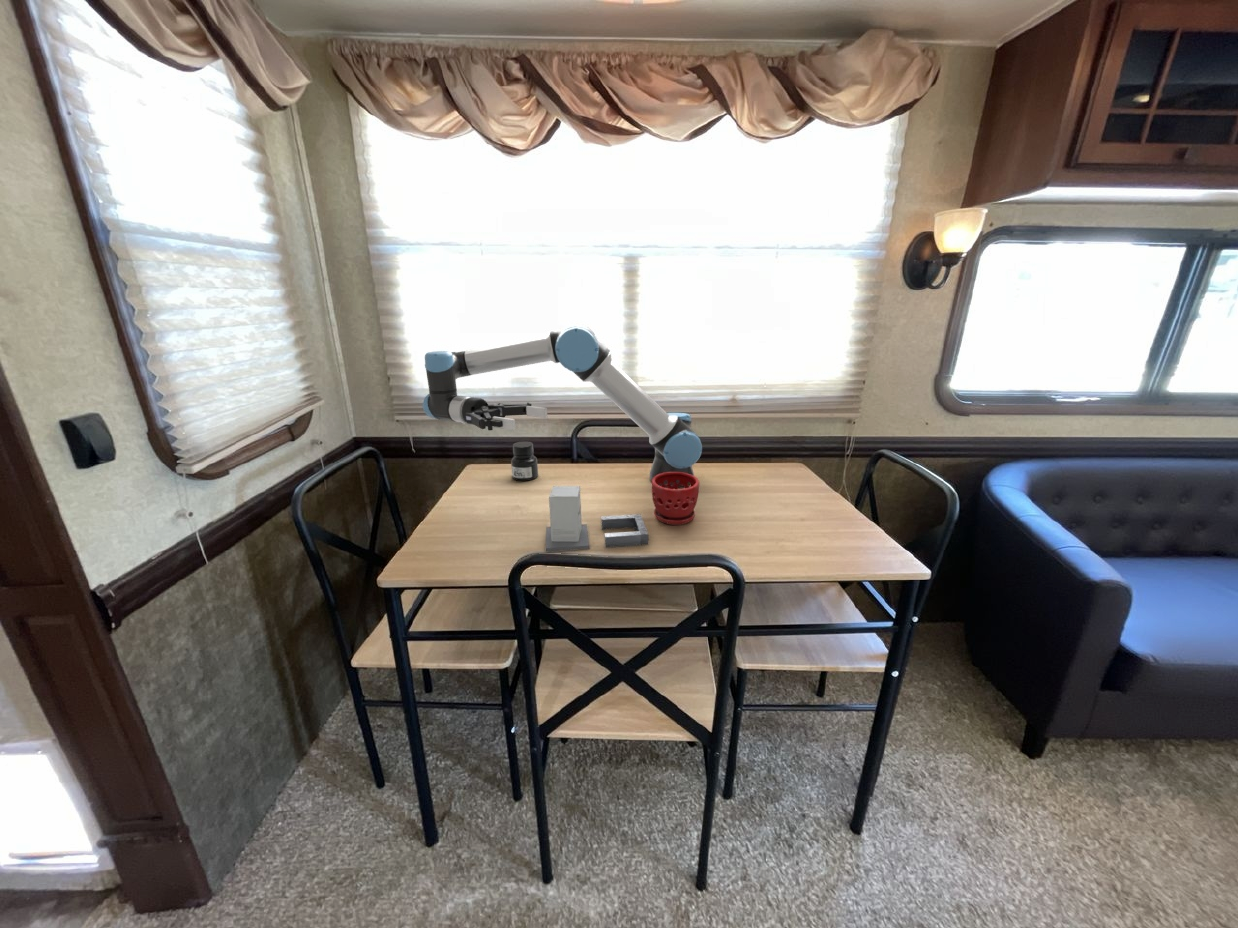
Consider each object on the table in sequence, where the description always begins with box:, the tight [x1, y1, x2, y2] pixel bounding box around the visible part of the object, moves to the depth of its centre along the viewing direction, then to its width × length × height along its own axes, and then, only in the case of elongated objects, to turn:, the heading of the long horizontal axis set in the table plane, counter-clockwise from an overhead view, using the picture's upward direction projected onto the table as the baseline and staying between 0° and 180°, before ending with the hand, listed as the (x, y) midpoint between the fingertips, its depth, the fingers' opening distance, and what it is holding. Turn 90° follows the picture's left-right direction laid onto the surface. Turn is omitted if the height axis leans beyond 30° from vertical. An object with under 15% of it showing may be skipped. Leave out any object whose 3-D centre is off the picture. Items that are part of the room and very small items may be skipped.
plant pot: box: [651, 472, 700, 526], centre depth 138 cm, size 13×13×12 cm
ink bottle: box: [510, 441, 539, 482], centre depth 171 cm, size 10×9×12 cm
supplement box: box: [548, 485, 582, 542], centre depth 127 cm, size 7×7×13 cm
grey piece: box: [600, 513, 649, 549], centre depth 130 cm, size 11×12×3 cm
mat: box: [545, 523, 591, 553], centre depth 129 cm, size 11×12×1 cm
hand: (531, 418), depth 129 cm, fingers open, 13 cm apart
